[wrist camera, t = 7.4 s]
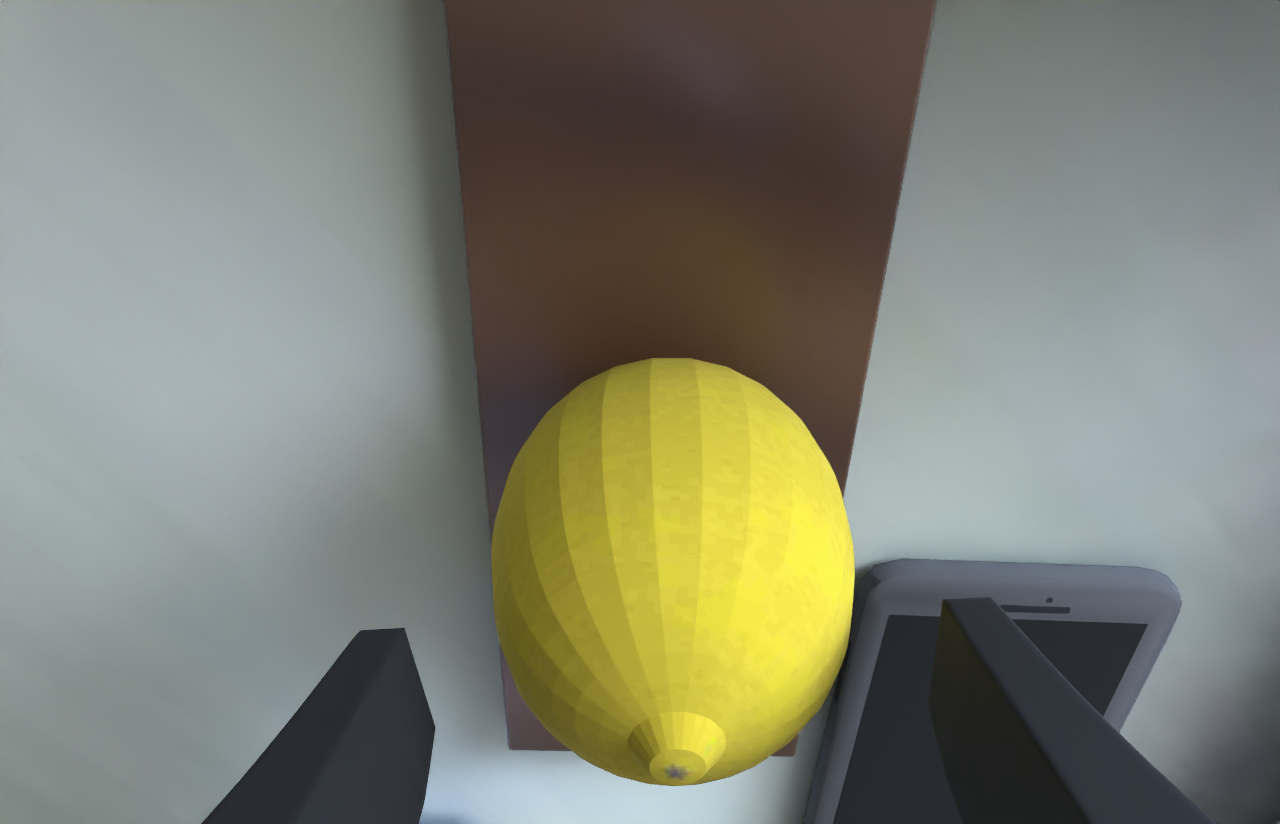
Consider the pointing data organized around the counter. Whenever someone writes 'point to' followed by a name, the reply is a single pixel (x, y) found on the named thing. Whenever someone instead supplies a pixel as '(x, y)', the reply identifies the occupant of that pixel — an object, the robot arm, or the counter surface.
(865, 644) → the cell phone
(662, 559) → the lemon
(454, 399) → the counter surface
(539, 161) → the back board
